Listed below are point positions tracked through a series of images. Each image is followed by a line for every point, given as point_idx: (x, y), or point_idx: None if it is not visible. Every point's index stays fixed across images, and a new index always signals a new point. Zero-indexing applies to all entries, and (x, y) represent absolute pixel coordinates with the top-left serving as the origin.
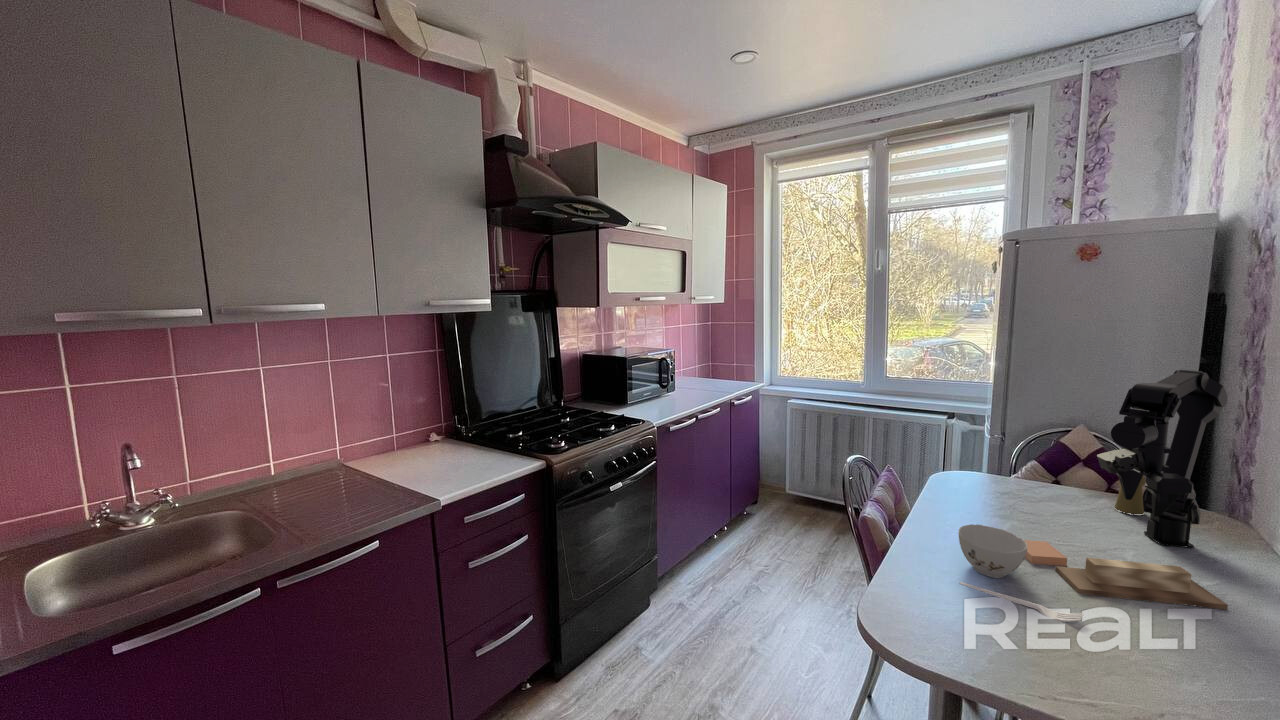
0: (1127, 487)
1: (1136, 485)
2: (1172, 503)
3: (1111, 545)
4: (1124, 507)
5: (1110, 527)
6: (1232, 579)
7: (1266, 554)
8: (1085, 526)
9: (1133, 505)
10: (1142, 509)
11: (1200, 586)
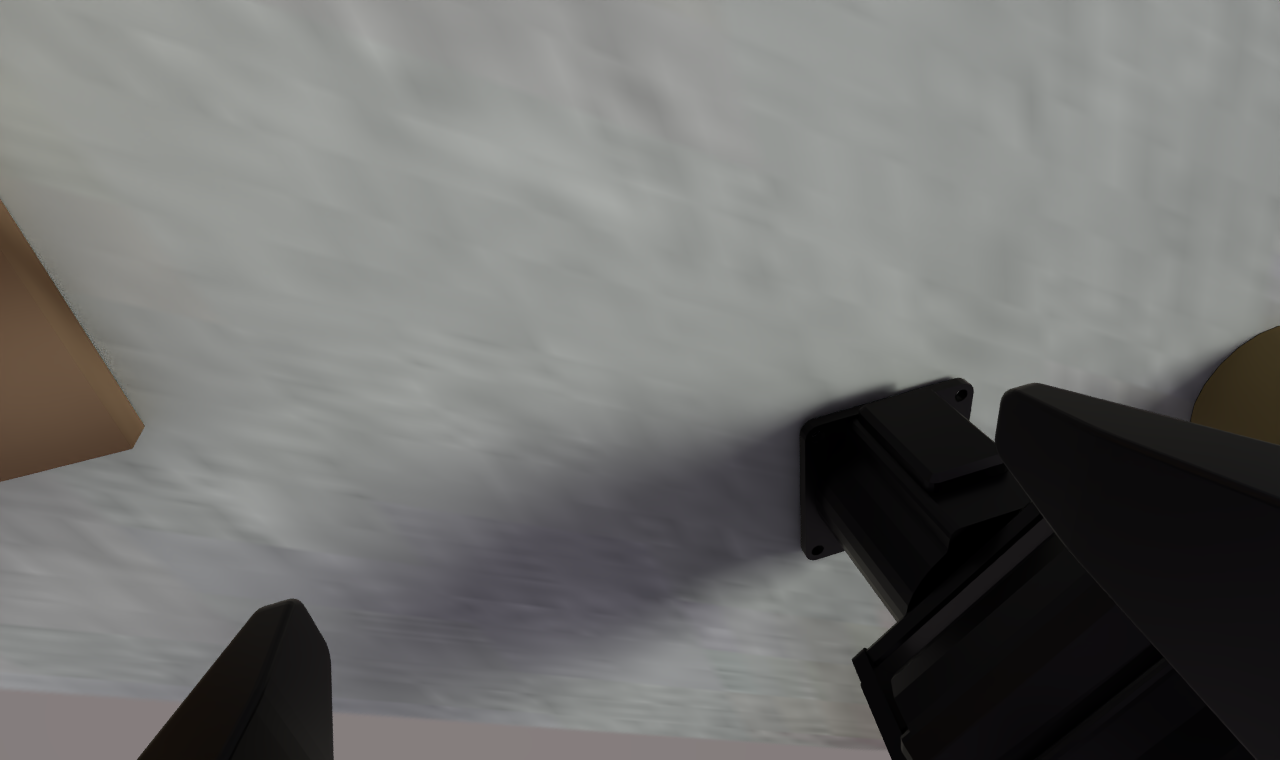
0: (1222, 545)
1: (1232, 702)
2: (980, 728)
3: (706, 91)
4: (1275, 376)
5: (1046, 209)
6: (416, 619)
7: (805, 739)
8: (1062, 13)
9: (1272, 427)
10: None
11: (14, 473)
